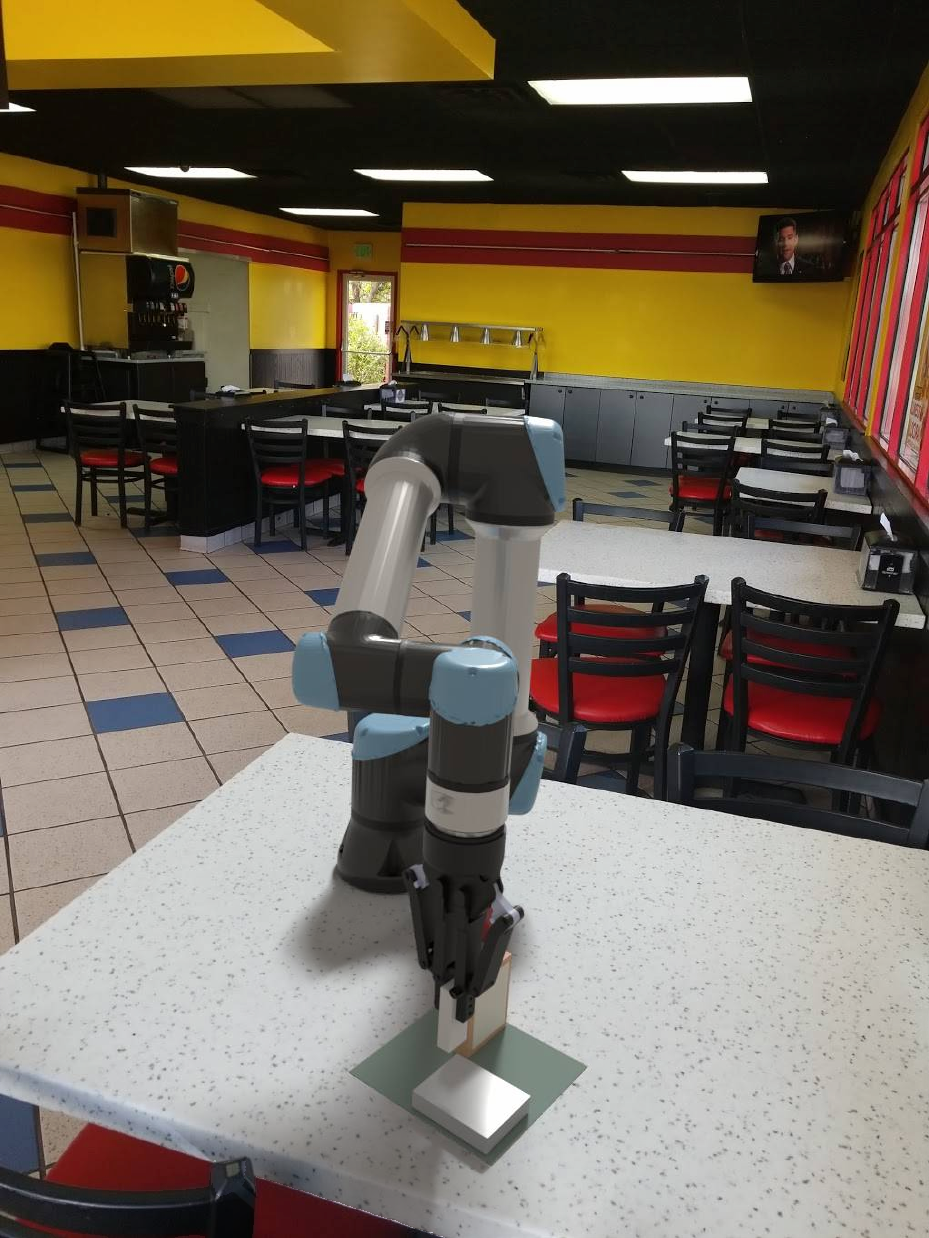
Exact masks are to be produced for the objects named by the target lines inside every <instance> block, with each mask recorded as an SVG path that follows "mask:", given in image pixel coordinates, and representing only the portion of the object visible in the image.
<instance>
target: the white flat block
mask: <svg viewBox="0 0 929 1238" xmlns="http://www.w3.org/2000/svg"><path fill="white" fill-rule="evenodd" d="M529 1105H530V1096H529V1095H527V1094H526V1093H524V1092H522V1091H521V1090H519V1089H517V1088H516V1087H514V1086H512V1085H510V1084H509V1083H507V1082H505V1081H504V1080H502V1079H500V1078H498V1077H497V1076H495V1075H493V1074H492V1073H490V1072H488V1071H487V1070H485V1069H483V1068H481V1067H480V1066H478V1065H476V1064H475V1063H473V1062H471V1061H470V1060H468V1059H466V1058H464V1057H463V1056H461V1055H459V1054H458V1053H457V1054H456V1055H455V1056H453V1057H452V1058H451V1059H450V1060H449V1061H447V1062H446V1063H445V1064H444V1065H443V1066H441V1067H440V1068H439V1069H438V1070H437V1071H435V1072H434V1073H433V1074H432V1075H431V1076H430V1077H428V1078H427V1079H426V1080H425V1081H424V1082H422V1083H421V1084H420V1085H419V1086H418V1087H416V1088H415V1089H414V1090H413V1091H412V1107H413V1108H415V1109H416V1110H418V1111H419V1112H421V1113H423V1114H424V1115H426V1116H427V1117H429V1118H430V1119H432V1120H433V1121H435V1122H436V1123H438V1124H439V1125H441V1126H442V1127H444V1128H446V1129H447V1130H449V1131H450V1132H452V1133H453V1134H455V1135H456V1136H458V1137H459V1138H461V1139H462V1140H464V1141H466V1142H467V1143H469V1144H470V1145H472V1146H473V1147H475V1148H476V1149H478V1150H479V1151H481V1152H482V1153H484V1154H486V1155H487V1154H488V1153H489V1152H490V1151H491V1150H492V1149H493V1148H494V1147H495V1146H496V1144H497V1143H498V1142H499V1141H500V1140H501V1139H502V1138H503V1137H504V1136H505V1135H506V1134H507V1133H508V1132H509V1131H510V1130H511V1129H512V1128H513V1127H514V1126H515V1125H516V1124H517V1123H518V1122H519V1121H520V1120H521V1119H522V1118H523V1117H524V1116H525V1115H526V1114H527V1113H528V1112H529Z"/></svg>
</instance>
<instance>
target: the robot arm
mask: <svg viewBox="0 0 929 1238" xmlns="http://www.w3.org/2000/svg"><path fill="white" fill-rule="evenodd" d="M564 447H565V445H564V433H563V429H562V427H561V425H560V424H559V423H558V422H557V421H555V420H553V419H551V418H541V417H535V416H529V415H507V414H488V413H487V414H486V413H484V414H483V413H468V412H466V413H464V412H456V411H440V412H434V413H430V414H427V415H424V416H421V417H418V418H417V419H415V420H413V421H411V422H409V423H407V424H406V425H404V426H403V427H401V428H400V429H399V430H397V431H396V432H395V433H394V434H393V435H391V436H390V437H389V438H388V439H387V440H386V441H385V442H384V443H383V444H382V445H381V446H380V447H379V449H378V451H377V452H376V453H375V455H374V456H373V458H372V460H371V462H370V463H369V466H368V469H367V473H366V475H365V479H364V483H363V488H364V494H365V498H366V503H365V507H364V510H363V513H362V517H361V519H360V523H359V526H358V530H357V532H356V535H355V538H354V542H353V544H352V549H351V552H350V555H349V558H348V561H347V565H346V568H345V571H344V574H343V578H342V581H341V584H340V586H339V587H340V588H339V590H338V593H337V596H336V600H335V603H334V605H333V609H332V613H331V616H330V620H329V622H328V626H327V631H326V632H325V631H322V630H321V631H320V630H319V631H317V632H311V631H310V632H309V631H308V632H306V633H303V634H302V636H301V637H300V638H298V640H297V643H296V645H295V648H294V652H293V656H292V665H291V687H292V692H293V696H294V697H295V699H296V701H297V702H298V703H299V704H300V705H301V706H306V707H310V708H311V707H312V708H315V709H321V710H326V711H327V710H329V711H334V712H340V711H341V712H342V711H344V712H352V713H353V712H357V713H366V714H367V713H370V714H368V715H367V716H365V717H363V718H362V719H361V720H360V721H359V722H358V723H357V725H356V726H355V728H354V733H353V742H352V750H351V751H350V756H351V759H352V762H351V797H350V798H351V802H350V804H351V805H350V806H351V808H350V818H349V821H348V824H347V826H346V828H345V832H344V834H343V837H342V840H341V843H340V845H339V847H338V849H337V850H338V851H337V857H336V858H337V859H336V860H337V863H336V864H337V865H336V870H337V873H338V876H340V878H341V879H342V880H343V881H344V882H345V883H346V884H347V885H350V886H352V887H354V888H355V889H358V890H361V891H364V892H368V893H373V894H377V895H379V894H380V895H403V894H404V895H405V894H408V899H409V904H410V912H411V919H412V927H413V933H414V935H413V936H414V941H415V946H416V948H415V949H416V956H417V962H418V965H419V967H420V968H421V969H422V970H423V971H427V970H428V971H429V973H431V974H432V979H433V981H434V1000H433V1004H434V1007H435V1008H436V1009H438V1010H439V1022H438V1040H437V1046H438V1047H439V1048H441V1049H443V1050H445V1051H446V1052H448V1053H450V1052H451V1051H452V1050H454V1049H455V1048H456V1047H457V1046H459V1045H460V1044H461V1043H462V1042H464V1041H465V1040H466V1039H467V1024H468V1020H469V1019H470V1018H471V1017H472V1016H473V1014H474V1010H475V997H476V998H477V997H479V996H480V995H482V994H483V993H484V992H486V991H487V990H488V989H489V988H491V987H492V986H493V985H494V984H495V982H496V979H497V976H498V973H499V970H500V967H501V964H502V961H503V958H504V955H505V952H506V951H507V950H508V946H509V943H510V940H511V938H512V934H513V931H514V929H515V926H516V925H517V924H518V923H520V921H521V920H522V919H523V918H524V917H525V910H524V908H523V907H522V906H520V905H514V906H512V904H511V903H510V902H509V901H508V900H507V899H506V897H505V896H504V891H505V890H504V889H505V888H504V884H503V881H502V877H501V871H502V867H503V865H504V861H505V856H506V842H507V840H506V839H507V825H506V822H507V821H508V817H509V816H524V815H527V814H528V813H530V812H531V811H532V809H533V808H534V805H535V803H536V800H537V795H538V793H539V788H540V783H541V780H542V774H543V769H544V761H545V756H546V751H547V746H548V736H547V735H546V734H545V733H542V731H538V729H539V728H538V726H539V721H538V718H537V717H536V716H535V714H533V712H531V711H530V710H529V700H530V687H531V686H530V685H531V675H532V660H533V648H534V636H535V633H534V632H535V621H536V620H535V619H536V611H537V610H536V607H537V599H538V598H537V596H538V594H537V593H538V584H539V582H538V581H539V569H540V558H541V557H540V556H541V546H542V545H541V543H542V537H543V536H544V535H545V534H546V533H547V532H548V531H549V530H551V529H552V528H553V527H554V525H555V514H556V513H559V514H560V513H561V512H565V511H566V510H567V491H566V490H567V489H566V468H565V448H564ZM440 504H450V505H461V506H462V505H463V506H465V513H464V520H465V521H466V523H467V524H468V525H469V526H470V527H471V529H472V530H473V531H474V533H475V535H474V537H475V539H474V540H475V541H474V556H473V571H472V589H471V603H470V604H471V605H470V606H471V607H470V618H469V619H470V621H469V638H467V639H465V640H462V641H460V643H459V642H458V643H451V642H449V643H448V642H436V641H420V640H411V639H401V636H402V633H403V628H404V626H405V624H404V623H405V619H406V616H407V611H408V608H409V602H410V598H411V594H412V589H413V585H414V581H415V576H416V572H417V567H418V562H419V559H420V554H421V550H422V545H423V540H424V537H425V531H426V527H427V522H428V518H429V517H430V516H431V515H433V514H434V512H435V511H436V510H437V508H438V507H439V505H440ZM491 906H492V908H493V913H492V917H491V918H490V922H491V923H492V925H491V927H490V928H489V930H488V932H487V935H486V938H485V941H483V942H482V935H483V923H484V921H485V919H486V917H487V910H488V909H489V908H490V907H491Z"/></svg>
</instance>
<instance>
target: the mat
mask: <svg viewBox="0 0 929 1238" xmlns="http://www.w3.org/2000/svg"><path fill="white" fill-rule="evenodd" d="M438 1022H439V1010H438V1009H436V1008H435V1006H434V1007H432V1008H431V1009H429V1010H428V1011H427V1012H425V1013H424V1014H423V1015H422V1016H420V1017H419V1018H418V1019H416V1020H415V1021H414V1022H413V1023H411V1024H410V1025H408V1026H407V1027H406V1028H404V1029H403V1030H402V1031H401V1032H399V1033H398V1034H397V1035H395V1036H394V1037H393V1038H391V1039H390V1040H389V1041H388V1042H386V1043H384V1045H382V1046H380V1047H379V1048H378V1049H376V1051H374V1052H372V1054H370V1055H369V1056H367V1057H366V1058H365V1059H363V1060H362V1061H361V1062H360V1063H358V1064H357V1065H355V1066H354V1067H353V1068H352V1069H351V1070H348V1073H349V1074H351V1075H352V1076H353V1077H356V1078H357V1079H359V1081H361V1082H363V1083H365V1084H366V1085H367V1086H369V1087H371V1088H373V1089H374V1090H375V1091H377V1092H378V1093H380V1094H381V1095H383V1096H384V1097H386V1098H387V1099H389V1100H391V1101H392V1102H394V1103H395V1104H397V1105H398V1106H399V1107H401V1108H403V1109H404V1110H406V1111H408V1113H411V1114H412V1115H414V1116H415V1117H416V1118H418V1119H420V1120H421V1121H422V1122H424V1123H426V1124H427V1125H429V1126H430V1127H432V1128H433V1129H435V1130H436V1131H437V1132H439V1133H441V1134H443V1135H444V1136H446V1137H447V1138H449V1139H450V1140H452V1141H453V1142H454V1143H457V1144H458V1145H459V1146H461V1147H462V1148H464V1149H466V1151H468V1152H469V1153H471V1154H472V1155H474V1156H476V1157H477V1158H479V1159H481V1160H482V1161H484V1162H485V1163H487V1164H488V1165H490V1166H491V1167H493V1165H494V1164H495V1163H497V1161H498V1160H499V1159H500V1158H501V1157H502V1156H503V1155H504V1154H505V1153H506V1152H508V1150H509V1149H510V1148H511V1147H512V1146H513V1145H514V1144H515V1142H516V1141H518V1140H519V1138H520V1137H522V1135H523V1134H524V1133H526V1131H527V1130H528V1129H529V1128H530V1127H531V1126H532V1125H533V1124H534V1123H535V1122H536V1121H537V1120H538V1119H539V1118H540V1117H541V1116H542V1115H543V1113H544V1112H546V1110H547V1109H549V1108H550V1106H551V1105H552V1104H553V1103H554V1102H555V1101H556V1100H557V1099H558V1098H559V1097H560V1096H561V1095H562V1094H563V1093H564V1092H565V1091H566V1090H567V1089H568V1088H569V1087H570V1085H571V1084H572V1083H573V1082H574V1081H576V1080H577V1078H578V1077H579V1076H580V1075H581V1074H582V1073H583V1072H584V1071H585V1070H586V1069H587V1068H589V1067H588V1065H587V1064H584V1063H583V1062H581V1061H579V1060H577V1059H575V1058H573V1057H571V1056H569V1055H568V1054H566V1053H564V1052H562V1051H560V1050H558V1049H557V1048H555V1047H553V1046H551V1045H550V1044H547V1043H546V1042H544V1041H542V1040H540V1039H538V1038H537V1037H534V1036H533V1035H531V1034H529V1033H528V1032H525V1031H524V1030H522V1029H520V1028H518V1027H516V1026H514V1025H513V1024H510V1023H508V1022H507V1021H506V1026H505V1027H504V1028H503V1029H502V1030H500V1031H499V1032H498V1033H497V1034H496V1035H495V1036H493V1037H492V1038H491V1039H490V1040H489V1041H488V1042H486V1043H485V1044H484V1045H483V1046H482V1047H481V1048H479V1049H478V1050H477V1051H476V1052H475V1053H474V1054H472V1055H471V1056H470V1057H469V1058H468V1060H470V1061H471V1062H473V1063H475V1064H476V1065H478V1066H480V1067H481V1068H483V1069H485V1070H487V1071H488V1072H490V1073H492V1074H493V1075H495V1076H497V1077H498V1078H500V1079H502V1080H504V1081H505V1082H507V1083H509V1084H510V1085H512V1086H514V1087H516V1088H517V1089H519V1090H521V1091H522V1092H524V1093H526V1094H527V1095H529V1096H530V1105H529V1112H528V1113H527V1114H526V1115H525V1116H524V1117H523V1118H522V1119H521V1120H520V1121H519V1122H518V1123H517V1124H516V1125H515V1126H514V1127H513V1128H512V1129H511V1130H510V1131H509V1132H508V1133H507V1134H506V1135H505V1136H504V1137H503V1138H502V1139H501V1140H500V1141H499V1142H498V1143H497V1144H496V1146H495V1147H494V1148H493V1149H492V1150H491V1151H490V1152H489V1153H488V1154H487V1155H486V1154H484V1153H482V1152H481V1151H479V1150H478V1149H476V1148H475V1147H473V1146H472V1145H470V1144H469V1143H467V1142H466V1141H464V1140H462V1139H461V1138H459V1137H458V1136H456V1135H455V1134H453V1133H452V1132H450V1131H449V1130H447V1129H446V1128H444V1127H442V1126H441V1125H439V1124H438V1123H436V1122H435V1121H433V1120H432V1119H430V1118H429V1117H427V1116H426V1115H424V1114H423V1113H421V1112H419V1111H418V1110H416V1109H415V1108H413V1107H412V1091H413V1090H414V1089H415V1088H416V1087H418V1086H419V1085H420V1084H421V1083H422V1082H424V1081H425V1080H426V1079H427V1078H428V1077H430V1076H431V1075H432V1074H433V1073H434V1072H435V1071H437V1070H438V1069H439V1068H440V1067H441V1066H443V1065H444V1064H445V1063H446V1062H447V1061H449V1060H450V1059H451V1058H452V1057H453V1056H455V1055H456V1054H457V1052H455V1051H454V1050H452V1051H451V1052H450V1053H448V1052H446V1051H445V1050H443V1049H441V1048H439V1047H438V1046H437V1040H438ZM459 1055H460V1054H459ZM461 1056H462V1055H461ZM464 1058H465V1057H464ZM466 1059H467V1058H466Z"/></svg>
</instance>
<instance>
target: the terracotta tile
mask: <svg viewBox="0 0 929 1238" xmlns="http://www.w3.org/2000/svg"><path fill="white" fill-rule="evenodd" d="M512 955H513V953H510V952H509V951H507V950H506V952H505V955H504V958H503V961H502V964H501V967H500V970H499V973H498V976H497V979H496V982H495V984H494V985H493V986H492V987H491V988H489V989H488V990H487V991H486V992H484V993H483V994H482V995H480V996H479V997H477V998H476V997H475V1010H474V1014H473V1016H472V1017H471V1018H470V1019H469V1020H468V1024H467V1039H466V1040H465V1041H464V1042H462V1043H461V1044H460V1045H459V1046H457V1047H456V1048H455V1049H454V1051H455V1052H457V1053H458V1054H460V1055H462V1056H463V1057H465V1058H467V1059H468V1058H469V1057H470V1056H471V1055H472V1054H474V1053H475V1052H476V1051H477V1050H478V1049H479V1048H481V1047H482V1046H483V1045H484V1044H485V1043H486V1042H488V1041H489V1040H490V1039H491V1038H492V1037H493V1036H495V1035H496V1034H497V1033H498V1032H499V1031H500V1030H502V1029H503V1028H504V1027H505V1026H506V1022H507V1019H508V1018H507V1017H508V1005H509V992H510V980H511V968H512V967H511V966H512Z"/></svg>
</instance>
